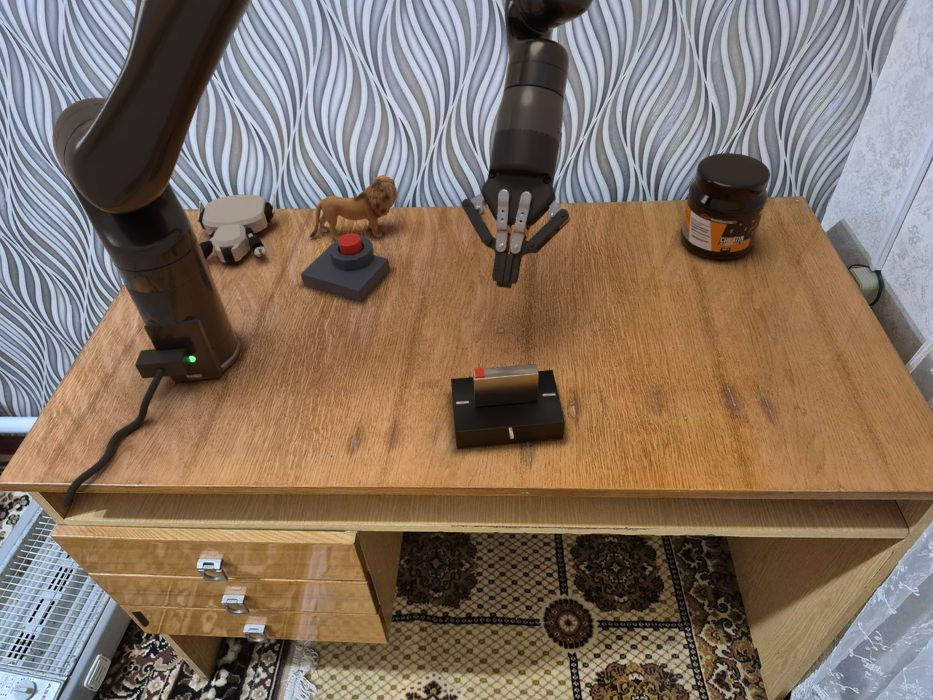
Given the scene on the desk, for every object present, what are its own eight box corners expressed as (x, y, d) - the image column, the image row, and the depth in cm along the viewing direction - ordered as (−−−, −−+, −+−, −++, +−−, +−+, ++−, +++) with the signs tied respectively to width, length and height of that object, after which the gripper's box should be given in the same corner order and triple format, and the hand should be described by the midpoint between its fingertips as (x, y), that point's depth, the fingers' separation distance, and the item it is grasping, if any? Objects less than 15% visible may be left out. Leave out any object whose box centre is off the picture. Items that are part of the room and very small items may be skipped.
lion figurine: (399, 216, 108) (392, 166, 102) (404, 234, 104) (397, 183, 98) (309, 231, 106) (296, 181, 100) (311, 250, 103) (297, 199, 96)
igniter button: (366, 245, 96) (364, 235, 95) (354, 258, 94) (352, 248, 93) (348, 241, 97) (346, 231, 96) (336, 253, 95) (333, 243, 94)
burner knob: (535, 391, 75) (536, 361, 72) (537, 401, 74) (538, 372, 71) (474, 396, 75) (472, 367, 72) (475, 407, 74) (473, 378, 70)
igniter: (394, 265, 99) (391, 243, 96) (361, 302, 93) (356, 280, 90) (339, 251, 102) (334, 229, 99) (303, 285, 96) (297, 263, 93)
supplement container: (683, 262, 96) (699, 188, 87) (674, 221, 103) (688, 150, 95) (759, 263, 94) (783, 189, 86) (745, 222, 102) (765, 150, 93)
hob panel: (549, 377, 81) (550, 358, 78) (566, 450, 73) (567, 432, 70) (451, 386, 80) (449, 367, 78) (457, 460, 72) (455, 442, 70)
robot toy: (273, 269, 101) (281, 210, 111) (265, 246, 97) (274, 187, 107) (192, 277, 100) (207, 217, 110) (181, 254, 97) (198, 195, 107)
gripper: (464, 121, 73) (440, 275, 74) (583, 130, 70) (558, 291, 71) (478, 143, 81) (456, 283, 81) (586, 152, 78) (563, 298, 78)
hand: (503, 287), depth 76 cm, fingers closed
